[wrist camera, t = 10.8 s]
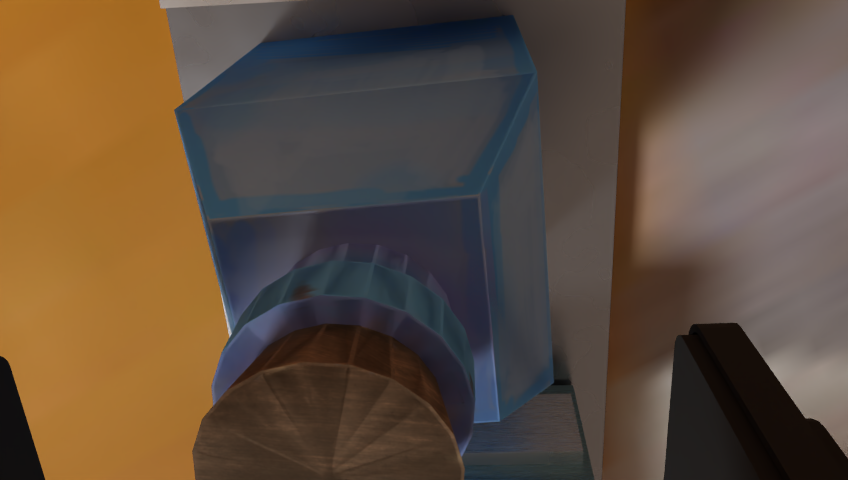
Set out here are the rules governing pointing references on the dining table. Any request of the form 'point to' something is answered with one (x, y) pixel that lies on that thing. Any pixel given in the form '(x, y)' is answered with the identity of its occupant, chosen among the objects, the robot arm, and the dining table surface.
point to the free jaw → (532, 442)
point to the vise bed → (559, 127)
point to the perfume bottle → (371, 250)
